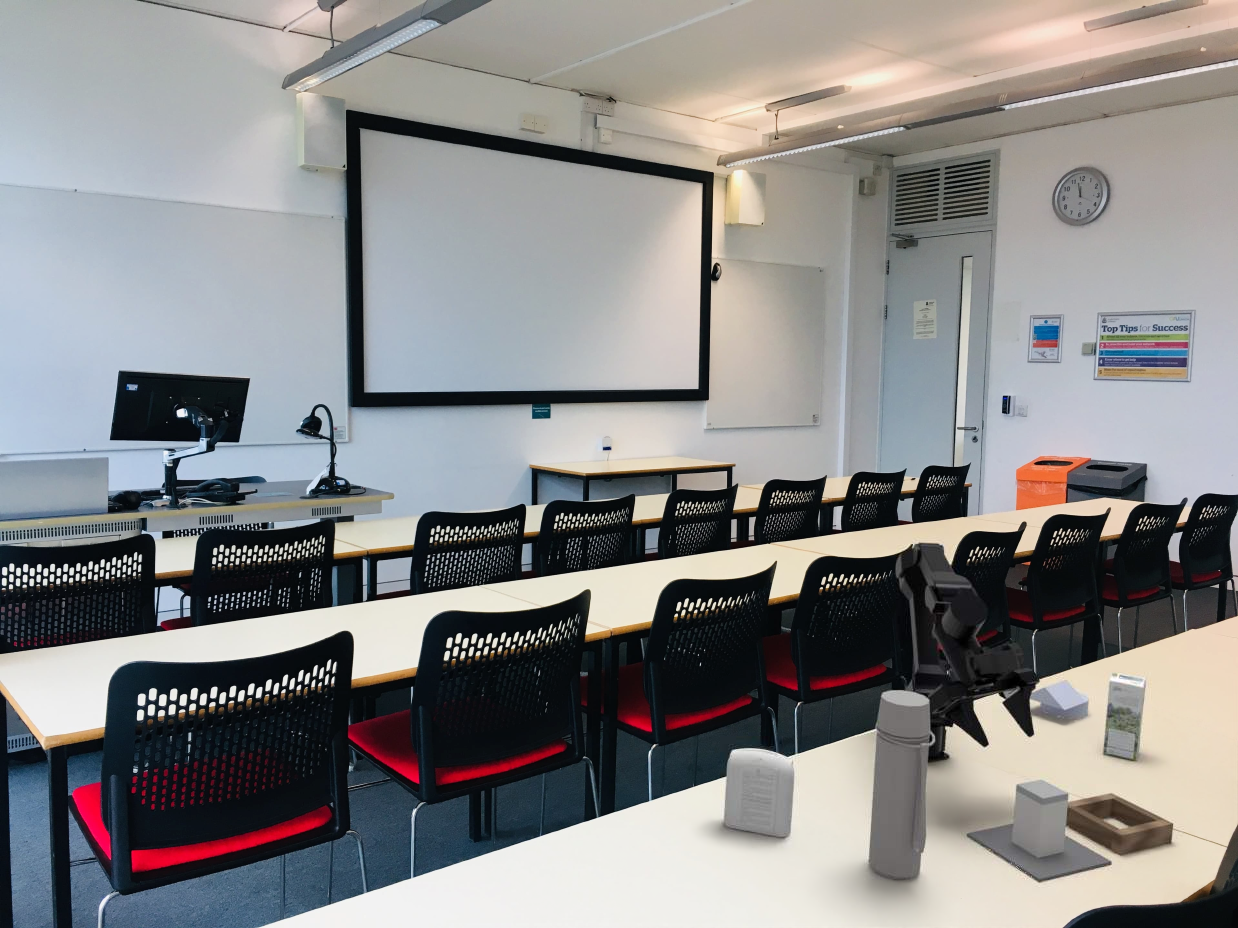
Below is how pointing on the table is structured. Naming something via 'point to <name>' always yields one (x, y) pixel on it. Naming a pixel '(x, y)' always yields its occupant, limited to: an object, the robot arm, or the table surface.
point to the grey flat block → (759, 792)
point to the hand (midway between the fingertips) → (1009, 740)
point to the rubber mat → (1043, 867)
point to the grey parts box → (1040, 818)
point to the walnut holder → (1143, 823)
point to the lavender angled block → (1062, 700)
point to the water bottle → (900, 784)
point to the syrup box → (1124, 716)
